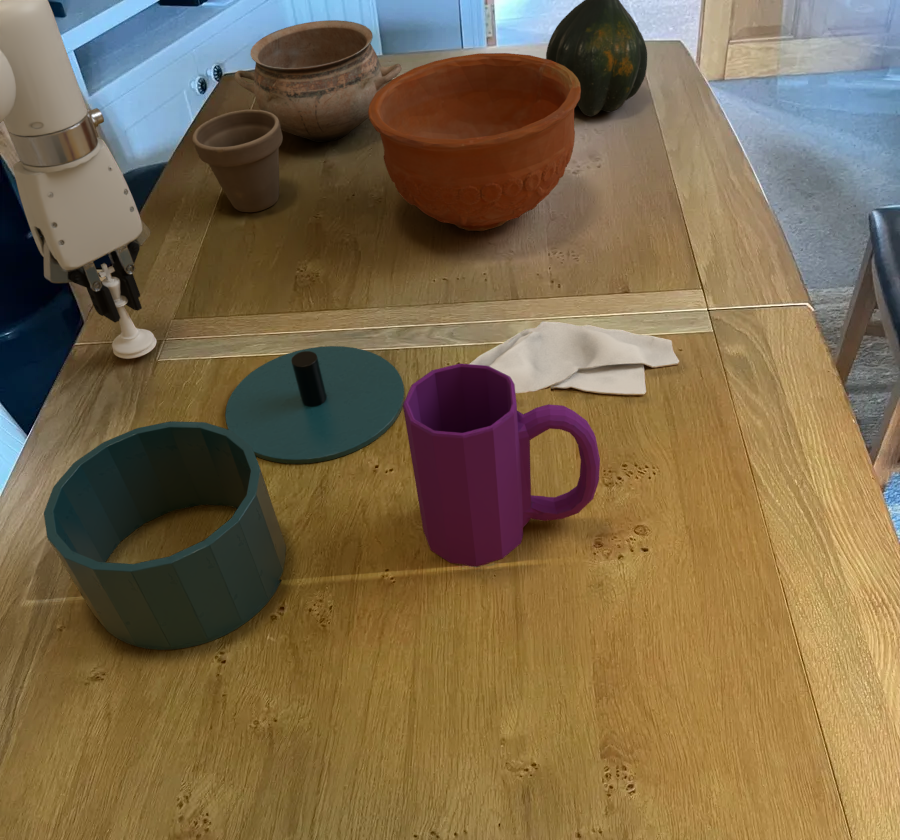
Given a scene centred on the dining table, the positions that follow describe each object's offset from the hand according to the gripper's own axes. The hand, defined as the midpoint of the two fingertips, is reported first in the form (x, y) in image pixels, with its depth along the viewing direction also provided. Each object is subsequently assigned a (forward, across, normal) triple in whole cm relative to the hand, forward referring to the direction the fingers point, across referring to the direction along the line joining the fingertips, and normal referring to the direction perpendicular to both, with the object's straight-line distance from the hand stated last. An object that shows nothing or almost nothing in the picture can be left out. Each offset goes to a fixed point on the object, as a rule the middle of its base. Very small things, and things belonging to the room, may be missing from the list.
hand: (121, 310), depth 103 cm
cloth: (+6, -27, +39) cm, 48 cm away
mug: (+6, -6, +52) cm, 52 cm away
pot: (+6, +16, +32) cm, 37 cm away
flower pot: (+6, -31, -18) cm, 36 cm away
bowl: (+5, -46, +11) cm, 48 cm away
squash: (+4, -80, +3) cm, 80 cm away
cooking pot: (+5, -52, -26) cm, 58 cm away
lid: (+5, -6, +24) cm, 25 cm away
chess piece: (+5, 0, 0) cm, 5 cm away
